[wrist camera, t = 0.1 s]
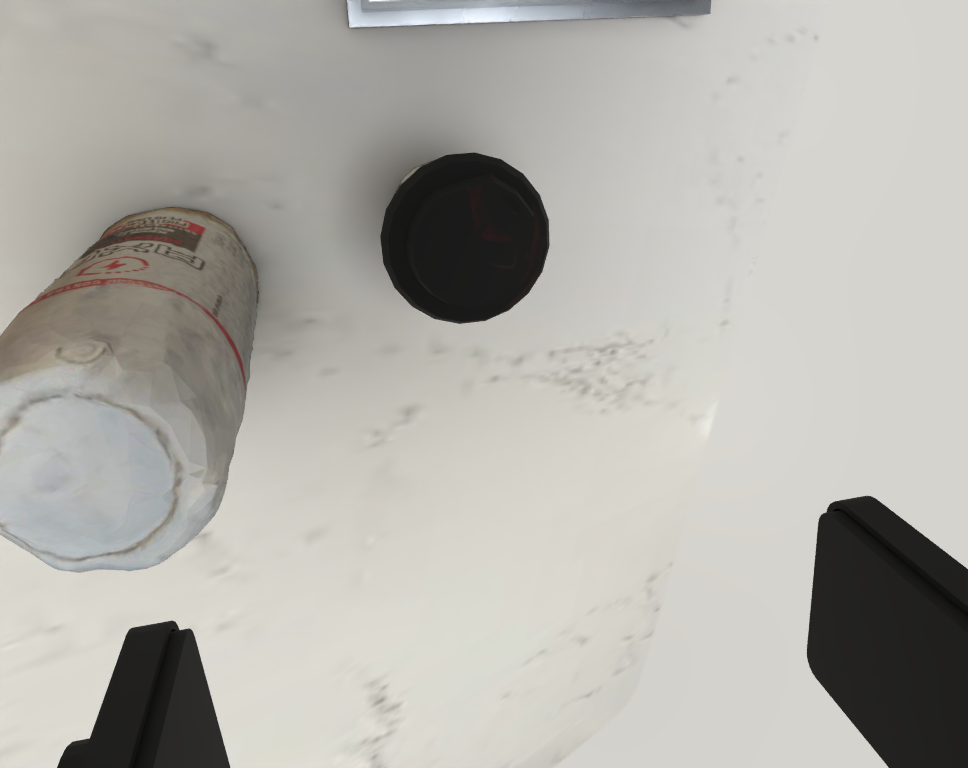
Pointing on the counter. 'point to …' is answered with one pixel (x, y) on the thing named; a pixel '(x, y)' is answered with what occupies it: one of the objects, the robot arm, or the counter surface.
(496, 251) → the coffee cup
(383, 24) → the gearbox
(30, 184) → the counter surface
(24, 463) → the spray can
